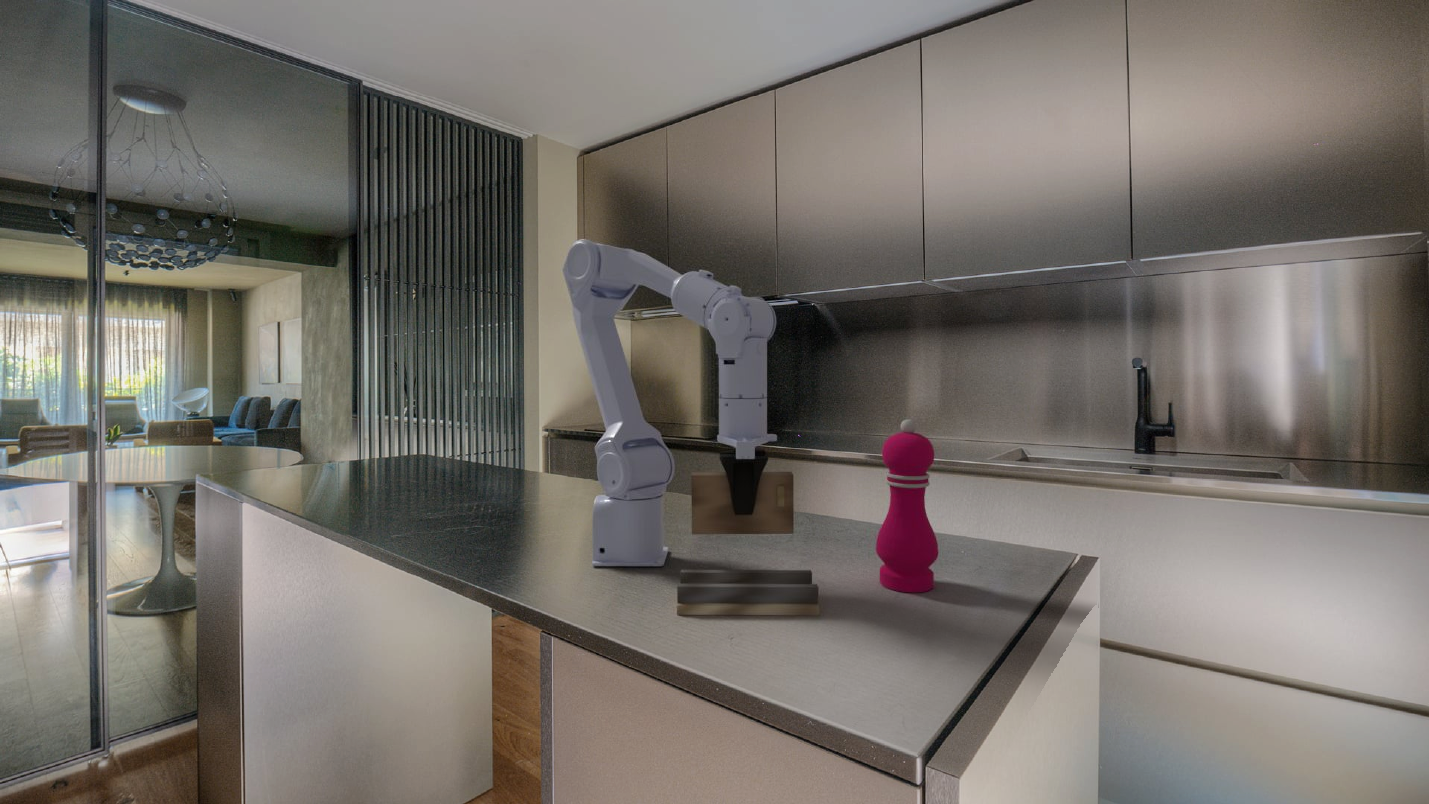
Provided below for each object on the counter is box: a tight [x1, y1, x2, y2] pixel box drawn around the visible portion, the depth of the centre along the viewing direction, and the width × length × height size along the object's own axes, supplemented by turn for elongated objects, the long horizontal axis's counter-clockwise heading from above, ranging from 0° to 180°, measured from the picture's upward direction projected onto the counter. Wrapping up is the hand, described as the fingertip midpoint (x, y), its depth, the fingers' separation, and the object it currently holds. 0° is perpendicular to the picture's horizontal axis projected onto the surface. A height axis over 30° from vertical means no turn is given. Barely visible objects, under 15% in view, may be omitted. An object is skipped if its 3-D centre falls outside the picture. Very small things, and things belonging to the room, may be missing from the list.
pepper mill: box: [875, 418, 939, 594], centre depth 76 cm, size 7×7×20 cm
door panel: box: [690, 471, 795, 535], centre depth 75 cm, size 12×3×7 cm, turn 90°
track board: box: [676, 569, 820, 616], centre depth 70 cm, size 15×7×3 cm, turn 89°
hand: (743, 511), depth 76 cm, fingers closed on door panel, 2 cm apart
